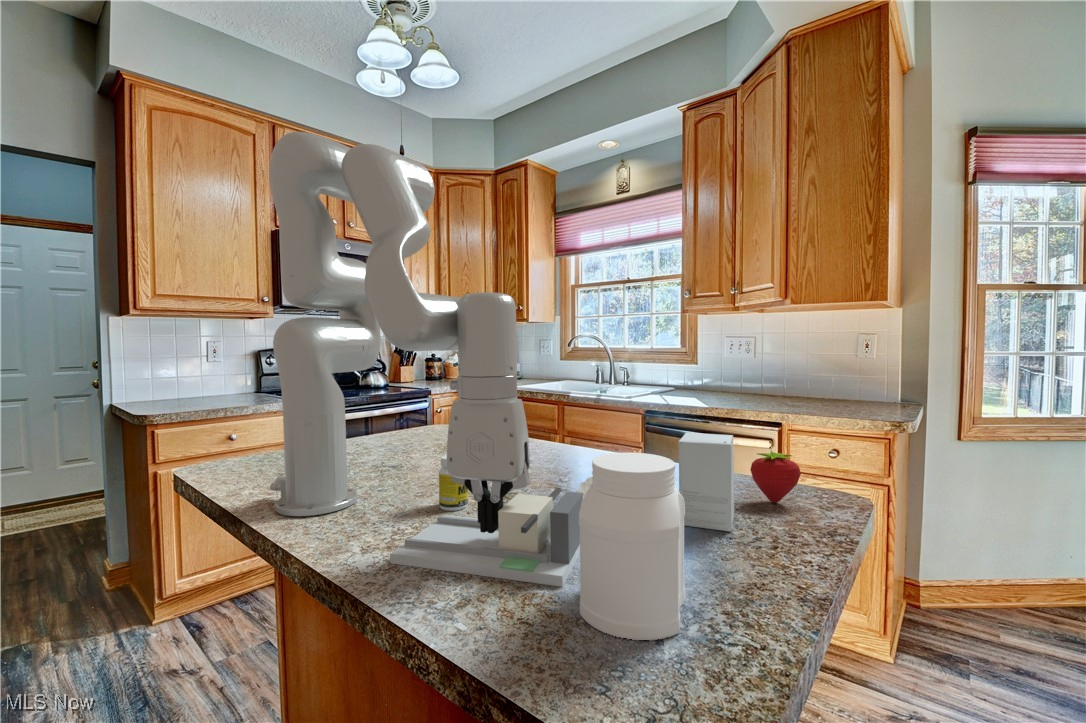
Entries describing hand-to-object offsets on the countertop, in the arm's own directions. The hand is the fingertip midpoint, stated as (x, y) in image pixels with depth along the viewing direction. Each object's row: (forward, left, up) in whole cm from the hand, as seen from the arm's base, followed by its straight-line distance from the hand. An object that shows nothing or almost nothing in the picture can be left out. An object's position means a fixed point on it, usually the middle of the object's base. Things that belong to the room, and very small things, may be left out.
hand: (490, 528), depth 64 cm
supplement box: (+27, +18, -3) cm, 33 cm away
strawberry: (+38, +29, -3) cm, 48 cm away
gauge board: (0, 0, -3) cm, 3 cm away
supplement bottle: (-13, +14, -3) cm, 19 cm away
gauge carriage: (+5, 0, -1) cm, 5 cm away
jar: (+19, -9, -3) cm, 22 cm away
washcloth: (+13, +22, -4) cm, 26 cm away
